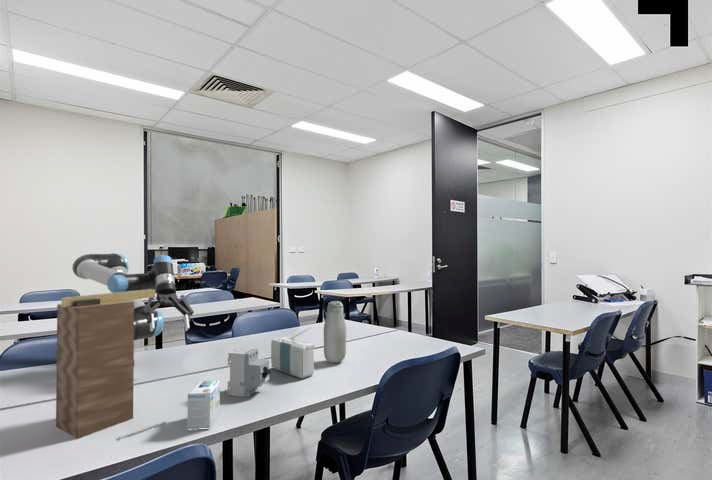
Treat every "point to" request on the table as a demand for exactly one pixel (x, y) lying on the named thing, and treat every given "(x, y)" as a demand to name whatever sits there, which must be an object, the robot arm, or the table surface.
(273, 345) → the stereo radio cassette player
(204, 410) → the light bulb box
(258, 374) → the circuit breaker
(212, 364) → the table surface
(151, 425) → the ruler
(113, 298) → the light wood bar
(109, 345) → the walnut stand
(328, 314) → the grey water bottle
